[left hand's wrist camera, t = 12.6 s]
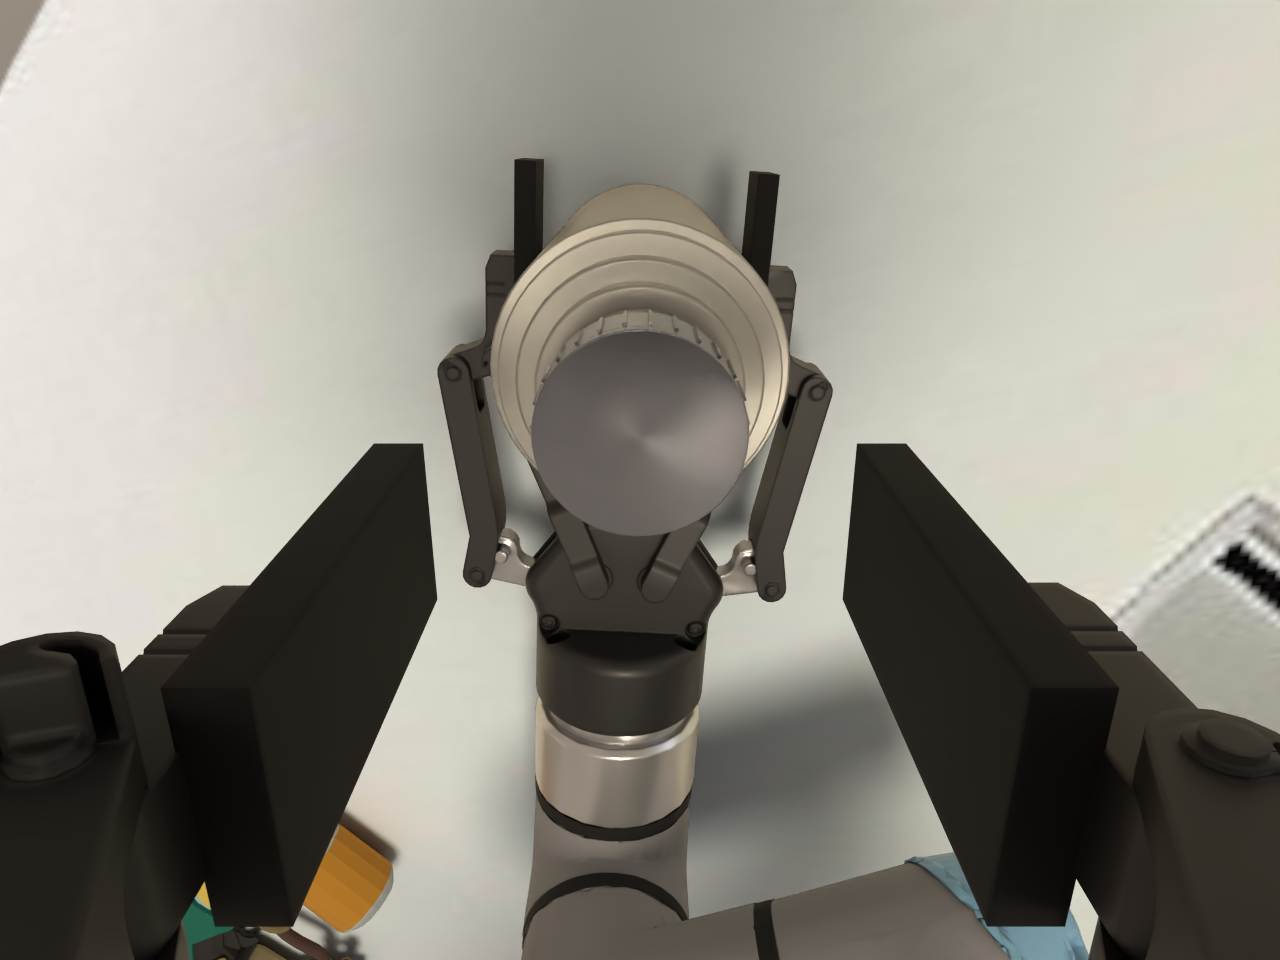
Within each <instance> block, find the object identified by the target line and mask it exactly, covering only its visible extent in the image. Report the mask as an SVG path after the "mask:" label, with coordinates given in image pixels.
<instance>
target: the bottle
mask: <svg viewBox="0 0 1280 960" xmlns="http://www.w3.org/2000/svg"><path fill="white" fill-rule="evenodd" d="M626 310H627V311H628V313H629V312H648V310H652V313H659V314H663V315H667V316H671V317H672V315H675V316H676V317H677V319H679V320H681V321H684V322H686V323H688V324H689V325H691V326H693V327H694V326H695V325H696V326H698V328H699V331H700V332H702V333H703V334H704V335H706V336H707V337H708V338H709V339H710V340H711V341H712V342H713V341H714V340H715V341H716V342H717V345H718V347H719V350H720V351H721V352H722V354H723V355H724V356H725V358H726V360H728V359H730V361H731V363H732V366H733V368H734V371H735V373H736V376H737V378H736V381H738V380H739V382H740V385H741V387H742V389H743V392H744V394H745V397H746V400H747V401H744V402H745V406H746V410H747V414H748V418H749V420H750V425H749V445H748V451H747V456H746V459H745V463H744V466H743V469H745V468H746V467H747V466H748V465H749V464H750V463H751V462H752V460H753V459H754V458H755V457H756V456H757V454H758V453H759V452H760V451H761V450H762V448H763V446H764V445H765V443H766V442H767V440H768V439H769V437H770V436H771V434H772V432H773V430H774V428H775V426H776V424H777V421H778V419H779V417H780V414H781V411H782V408H783V405H784V402H785V398H786V393H787V387H788V382H789V365H790V359H789V348H788V340H787V335H786V331H785V326H784V322H783V320H782V317H781V314H780V312H779V309H778V306H777V304H776V302H775V300H774V298H773V297H772V295H771V293H770V291H769V289H768V287H767V286H766V284H765V283H764V282H763V280H762V279H761V278H760V276H759V275H758V274H757V272H756V271H755V270H754V269H753V267H752V266H751V265H750V264H749V263H748V262H747V261H746V259H745V258H744V257H743V256H742V255H741V254H740V253H739V251H738V250H737V249H736V248H735V247H734V246H733V245H732V244H731V242H730V241H729V240H728V239H727V238H726V237H725V236H724V234H723V233H722V232H721V231H720V230H719V229H718V228H717V226H716V225H715V224H714V223H713V222H712V221H711V220H710V219H709V217H708V216H707V215H706V214H705V213H704V212H703V211H702V210H701V209H700V208H699V207H698V206H697V205H696V204H694V203H693V202H692V201H691V200H689V199H688V198H686V197H684V196H683V195H681V194H679V193H677V192H675V191H672V190H670V189H667V188H664V187H660V186H656V185H648V184H632V185H625V186H620V187H616V188H613V189H610V190H608V191H605V192H603V193H601V194H599V195H597V196H596V197H594V198H592V199H591V200H589V201H588V202H587V203H586V204H584V205H583V206H582V207H581V208H580V209H579V210H578V211H577V212H576V213H575V214H574V215H573V216H572V218H571V219H570V220H569V221H568V222H567V223H566V224H565V226H564V227H563V228H562V229H561V230H560V231H559V232H558V234H557V235H556V236H555V237H554V238H553V239H552V240H551V242H550V243H549V244H548V245H547V246H546V247H545V248H544V250H543V251H542V252H541V253H540V254H539V255H538V256H537V257H536V259H535V260H534V261H533V262H532V263H531V264H530V265H529V267H528V268H527V269H526V270H525V271H524V272H523V273H522V275H521V276H520V278H519V279H518V280H517V282H516V283H515V285H514V286H513V288H512V289H511V291H510V293H509V295H508V297H507V299H506V301H505V303H504V305H503V307H502V309H501V312H500V315H499V317H498V320H497V323H496V326H495V331H494V336H493V341H492V346H491V363H490V367H491V380H492V387H493V392H494V397H495V402H496V405H497V408H498V411H499V414H500V416H501V419H502V422H503V424H504V426H505V428H506V429H507V431H508V433H509V435H510V437H511V439H512V440H513V442H514V443H515V445H516V446H517V448H518V449H519V451H520V452H521V453H522V454H523V456H524V457H525V458H526V459H527V460H528V461H529V462H530V464H531V465H532V466H533V467H534V468H535V469H536V470H538V468H537V465H536V462H535V459H534V455H533V450H532V444H531V429H530V425H531V422H532V415H533V410H534V406H535V405H533V401H534V398H535V396H536V394H537V391H538V389H539V386H540V384H543V382H541V380H542V377H543V375H544V372H545V370H546V367H547V365H548V363H551V364H552V362H553V360H554V358H555V357H556V355H557V354H558V351H559V348H560V346H561V344H562V343H563V344H566V343H567V342H568V341H569V340H570V339H571V338H572V337H573V336H575V335H576V334H577V332H578V329H579V328H582V329H584V328H586V327H587V326H589V325H591V324H592V323H594V322H597V321H599V319H600V317H602V316H603V317H604V318H606V317H610V316H613V315H617V314H622V313H623V312H624V311H626ZM743 469H742V470H743Z"/></svg>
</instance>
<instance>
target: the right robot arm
mask: <svg viewBox="0 0 1280 960" xmlns="http://www.w3.org/2000/svg"><path fill="white" fill-rule="evenodd" d="M543 176H544V159H531V158H522V159H515V163H514V251H506V250H496V251H494V252H493V253H492V254H491V255H490V258H489V260H488V263H487V265H486V268H485V274H486V333H485V337H484V338H483V339H481V340H479V341H476V342H472V343H469V344H460V345H457V346H456V347H455V348H453V349H452V350H451V352H450V353H449V354H448V355H447V356H446V357H445V358H444V359H443V360H442V362H441V363H440V364H439V367H438V379H439V384H440V389H441V394H442V399H443V404H444V409H445V414H446V419H447V424H448V429H449V434H450V439H451V444H452V449H453V454H454V460H455V465H456V470H457V475H458V480H459V485H460V490H461V495H462V500H463V505H464V510H465V515H466V520H467V525H468V530H469V535H470V538H469V543H468V548H467V553H466V559H465V564H464V569H463V577H464V579H465V581H466V582H467V583H468V584H469V585H470V586H473V587H483V586H486V585H487V584H488V583H489V582H490V580H491V579H495V580H500V581H505V582H509V583H514V584H519V585H523V586H526V589H527V592H528V594H529V596H530V597H531V599H532V600H533V602H534V604H535V607H536V611H537V670H536V686H537V692H538V699H537V704H536V738H535V769H536V776H535V781H536V808H535V829H534V851H533V863H532V872H531V879H530V886H529V892H528V899H527V906H526V912H525V919H524V927H523V942H522V949H523V953H522V959H521V960H1088V958H1089V954H1088V952H1087V950H1086V948H1085V945H1084V942H1083V940H1082V937H1081V934H1080V930H1079V928H1078V925H1077V923H1076V921H1075V918H1074V916H1073V914H1072V912H1071V910H1070V908H1069V912H1068V916H1067V921H1066V925H1065V927H987V925H986V923H985V921H984V919H983V916H982V914H981V912H980V910H979V907H978V905H977V903H976V900H975V898H974V896H973V894H972V891H971V889H970V887H969V885H968V882H967V880H966V878H965V876H964V873H963V871H962V869H961V866H960V864H959V862H958V860H957V857H956V855H955V853H954V852H953V853H947V854H941V855H935V856H929V857H913V858H911V859H908V860H905V863H904V864H903V865H899V866H896V867H892V868H889V869H885V870H881V871H878V872H874V873H871V874H867V875H863V876H860V877H856V878H852V879H849V880H845V881H842V882H838V883H834V884H831V885H827V886H824V887H820V888H816V889H813V890H809V891H805V892H802V893H798V894H795V895H791V896H787V897H784V898H780V899H777V900H774V898H773V900H767V901H763V902H759V903H752V904H748V905H744V906H740V907H736V908H732V909H728V910H724V911H721V912H717V913H713V914H709V915H705V916H701V917H697V918H693V919H689V909H688V894H687V876H686V859H687V840H688V823H689V805H690V797H691V791H692V782H693V779H694V770H695V758H696V747H697V735H698V723H699V710H700V709H699V706H698V702H699V700H700V697H701V692H702V681H703V671H704V660H705V649H706V638H707V628H708V621H709V618H710V616H711V614H712V612H713V610H714V609H715V608H716V606H717V605H718V604H719V602H720V601H721V598H722V596H727V595H735V594H744V593H753V592H758V594H759V596H760V597H761V598H762V599H763V600H765V601H767V602H775V601H778V600H780V599H781V598H782V597H783V596H784V594H785V592H786V580H785V568H784V555H783V552H784V548H785V545H786V542H787V539H788V536H789V532H790V529H791V526H792V523H793V520H794V516H795V513H796V510H797V507H798V503H799V500H800V497H801V494H802V491H803V487H804V484H805V481H806V478H807V475H808V471H809V468H810V465H811V462H812V459H813V455H814V452H815V449H816V446H817V443H818V439H819V436H820V433H821V430H822V426H823V423H824V420H825V417H826V414H827V410H828V407H829V404H830V401H831V398H832V392H833V389H832V386H831V384H830V382H829V381H828V380H827V378H826V377H825V376H824V375H823V373H822V372H821V371H820V370H819V368H818V367H817V366H816V365H814V364H812V363H806V362H803V361H801V360H799V359H796V358H794V357H793V356H791V355H790V352H789V359H790V365H789V382H788V387H787V393H786V398H785V402H784V405H783V408H782V411H781V414H780V417H779V421H778V424H777V428H776V431H775V434H774V438H773V441H772V445H771V448H770V452H769V455H768V458H767V462H766V465H765V469H764V472H763V475H762V479H761V482H760V486H759V489H758V493H757V496H756V499H755V503H754V506H753V510H752V513H751V518H750V522H749V531H748V535H749V540H748V541H746V540H744V541H741V542H740V543H738V544H737V545H736V546H735V548H734V549H733V554H732V558H731V559H730V561H729V562H728V563H727V564H725V565H723V566H718V565H717V564H716V563H715V561H714V560H713V558H712V557H711V555H710V554H709V552H708V551H707V549H706V548H705V546H704V545H703V543H702V542H701V541H700V537H701V535H702V534H703V532H704V530H705V528H706V526H707V524H708V522H709V518H710V515H711V512H712V511H711V512H710V513H709V514H707V515H706V516H704V517H703V518H702V519H700V520H698V521H697V522H695V523H693V524H691V525H689V526H687V527H685V528H682V529H680V530H677V531H674V532H670V533H666V534H662V535H655V536H644V537H634V536H624V535H618V534H614V533H610V532H606V531H603V530H601V529H598V528H595V527H593V526H591V525H589V524H587V523H585V522H583V521H582V520H580V519H579V518H577V517H576V516H574V515H573V514H571V513H570V512H569V511H568V510H567V509H566V508H564V507H563V506H562V505H561V504H560V503H559V502H558V501H557V499H556V498H555V497H554V496H553V495H552V494H551V492H550V491H549V489H548V488H547V486H546V485H545V483H544V481H543V479H542V477H541V475H540V473H539V471H538V470H536V469H535V468H534V467H533V466H532V465H531V464H530V462H529V461H528V463H529V465H530V467H531V470H532V472H533V474H534V476H535V479H536V481H537V483H538V486H539V488H540V490H541V492H542V495H543V497H544V499H545V502H546V505H547V510H548V515H549V518H550V520H551V523H552V525H553V527H554V530H555V532H554V533H553V534H552V535H551V536H550V538H549V539H548V540H547V541H546V542H545V544H544V545H543V546H542V547H541V548H540V549H539V551H538V552H537V553H536V554H535V555H534V557H531V556H528V555H527V554H525V553H524V552H523V551H522V549H521V547H520V539H519V536H518V535H517V533H516V532H514V531H513V530H512V529H510V528H505V523H506V505H505V498H504V492H503V487H502V481H501V476H500V470H499V465H498V459H497V453H496V448H495V442H494V437H493V431H492V426H491V420H490V415H489V409H488V403H487V398H486V392H485V387H484V381H483V377H486V376H489V375H490V376H491V367H490V363H491V346H492V341H493V336H494V331H495V326H496V323H497V320H498V317H499V315H500V312H501V309H502V307H503V305H504V303H505V301H506V299H507V297H508V295H509V293H510V291H511V289H512V288H513V286H514V285H515V283H516V282H517V280H518V279H519V278H520V276H521V275H522V273H523V272H524V271H525V270H526V269H527V268H528V267H529V265H530V264H531V263H532V262H533V261H534V260H535V259H536V257H537V256H538V255H539V254H540V253H541V252H542V246H543ZM779 177H780V175H778V174H774V173H770V172H756V171H750V173H749V183H748V194H747V205H746V215H745V226H744V237H743V247H742V256H743V257H744V258H745V259H746V261H747V262H748V263H749V264H750V265H751V266H752V267H753V269H754V270H755V271H756V272H757V274H758V275H759V276H760V278H761V279H762V280H763V282H764V283H765V284H766V286H767V287H768V289H769V291H770V293H771V295H772V297H773V298H774V300H775V302H776V304H777V306H778V309H779V312H780V314H781V317H782V320H783V322H784V326H785V331H786V335H787V340H788V348H789V345H790V336H791V327H792V319H793V310H794V300H795V293H796V282H795V278H794V274H793V271H792V270H791V269H789V268H788V267H787V266H773V265H770V262H771V253H772V243H773V234H774V224H775V215H776V205H777V196H778V186H779Z"/></svg>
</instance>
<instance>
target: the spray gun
mask: <svg viewBox="0 0 1280 960" xmlns="http://www.w3.org/2000/svg"><path fill="white" fill-rule="evenodd" d="M392 885H393V868H392V864H391V862H390V861H388V860H387V859H386V858H384V857H383V856H382V855H380V854H379V853H378V852H376V851H375V850H374V849H372V848H371V847H370V846H368V845H367V844H366V843H364V842H363V841H362V840H360V839H359V838H358V837H356V836H355V835H354V834H352V833H351V832H350V831H348V830H347V829H345V828H344V827H343V826H341V825H340V824H339V823H338V826H337V828H336V830H335V832H334V835H333V837H332V839H331V841H330V844H329V846H328V848H327V851H326V853H325V855H324V857H323V860H322V862H321V864H320V866H319V869H318V871H317V873H316V876H315V878H314V880H313V882H312V885H311V887H310V889H309V891H308V894H307V896H306V898H305V900H304V903H303V905H304V906H306V907H307V908H308V909H310V910H311V911H312V912H313V913H315V914H316V915H317V916H319V917H320V918H321V919H323V920H324V921H325V922H327V923H328V924H329V925H331V926H332V927H333V928H335V929H336V930H337V931H339V932H342V933H347V932H350V931H352V930H355V929H357V928H359V927H361V926H363V925H365V924H366V923H367V922H368V921H369V920H370V919H371V918H372V917H373V916H374V915H375V914H376V912H377V911H378V910H379V909H380V907H381V906H382V904H383V903H384V901H385V900H386V898H387V896H388V894H389V893H390V891H391V889H392ZM297 917H298V916H297ZM182 921H183V925H184V929H185V933H186V937H187V943H188V950H189V957H190V959H189V960H287V959H285V958H283V957H282V956H280V955H278V954H277V953H275V952H273V951H272V950H270V949H268V948H267V947H265V946H263V945H260V944H257V942H258V940H259V939H260V937H261V935H260V934H258V933H255V934H251V933H247V932H245V931H244V930H243V929H242V928H241V927H215V925H214V921H213V916H212V912H211V908H210V903H209V899H208V894H207V890H206V886H205V882H204V883H203V885H202V887H201V889H200V890H199V892H198V894H197V895H196V897H195V899H194V901H193V902H192V904H191V906H190V907H189V909H188V911H187V912H186V914H185V916H184V918H183V919H182ZM259 928H261V929H262V930H264V931H267V932H269V933H275V934H277V935H278V936H279V937H280V938H281V939H282V940H284V941H285V942H287V943H288V944H290V945H291V946H293V947H295V948H296V949H298V950H300V951H302V952H304V953H306V954H308V955H310V956H312V957H313V958H315V959H316V960H332V957H331V956H330V955H328V953H327V951H326V950H325V949H324V948H323V947H321V946H320V945H319V944H317V943H315V942H313V941H311V940H309V939H307V938H305V937H303V936H302V935H300V934H298V933H297V932H295V931H294V930H292V929H291V927H259ZM341 960H351V958H350V957H343V958H341Z"/></svg>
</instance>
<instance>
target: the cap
mask: <svg viewBox="0 0 1280 960" xmlns="http://www.w3.org/2000/svg"><path fill="white" fill-rule="evenodd" d="M736 378H737V376H736V373H735V371H734V368H733V366H732V363H731V361H730V359H728V360H726V358H725V356H724V355H723V354H722V352H721V351H720V350H719V347H718V345H717V342H716V341H715V340H714V341H713V342H712V341H711V340H710V339H709V338H708V337H707V336H706V335H704V334H703V333H702V332H700V331H699V328H698V326H696V325H695V326H694V327H693V326H691V325H689V324H688V323H686V322H684V321H681V320H679V319H677V317H676V316H675V315H672V317H671V316H667V315H663V314H659V313H652V310H648V312H629V313H628V311H627V310H626V311H624V312H623V313H622V314H617V315H613V316H610V317H606V318H604V317H603V316H602V317H600V319H599V321H597V322H594V323H592V324H591V325H589V326H587V327H586V328H584V329H582V328H579V329H578V332H577V334H576V335H575V336H573V337H572V338H571V339H570V340H569V341H568V342H567V343H566V344H563V343H562V344H561V346H560V348H559V351H558V354H557V355H556V357H555V358H554V360H553V362H552V364H551V363H548V365H547V367H546V370H545V372H544V375H543V377H542V380H541V382H543V384H540V386H539V389H538V391H537V394H536V396H535V398H534V401H533V405H535V406H534V410H533V415H532V422H531V425H530V429H531V444H532V450H533V455H534V459H535V462H536V465H537V468H538V471H539V473H540V475H541V477H542V479H543V481H544V483H545V485H546V486H547V488H548V489H549V491H550V492H551V494H552V495H553V496H554V497H555V498H556V499H557V501H558V502H559V503H560V504H561V505H562V506H563V507H564V508H566V509H567V510H568V511H569V512H570V513H571V514H573V515H574V516H576V517H577V518H579V519H580V520H582V521H583V522H585V523H587V524H589V525H591V526H593V527H595V528H598V529H601V530H603V531H606V532H610V533H614V534H618V535H624V536H634V537H644V536H655V535H662V534H666V533H670V532H674V531H677V530H680V529H682V528H685V527H687V526H689V525H691V524H693V523H695V522H697V521H698V520H700V519H702V518H703V517H704V516H706V515H707V514H709V513H710V512H711V511H712V510H714V509H715V508H716V507H717V506H718V505H719V504H720V503H721V502H722V501H723V500H724V498H725V497H726V496H727V495H728V494H729V492H730V491H731V489H732V488H733V486H734V485H735V483H736V482H737V480H738V477H739V475H740V473H741V471H742V469H743V466H744V463H745V459H746V456H747V451H748V445H749V425H750V420H749V418H748V414H747V410H746V406H745V402H744V401H747V400H746V397H745V394H744V392H743V389H742V387H741V385H740V382H739V380H738V381H736Z"/></svg>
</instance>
